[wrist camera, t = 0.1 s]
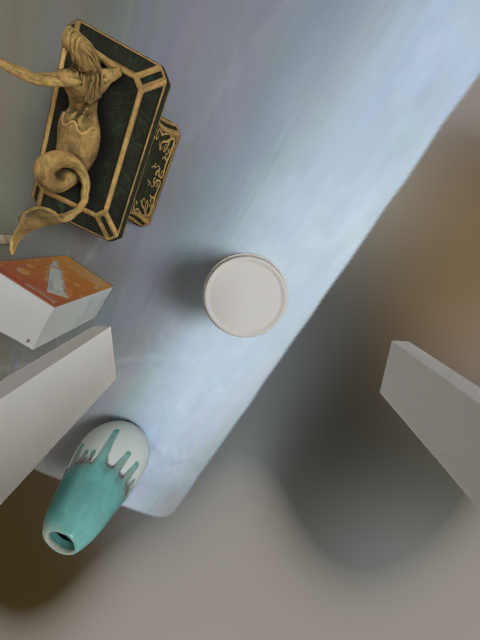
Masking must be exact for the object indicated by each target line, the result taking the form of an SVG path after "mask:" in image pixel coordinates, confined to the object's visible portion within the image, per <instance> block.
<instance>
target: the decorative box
mask: <svg viewBox="0 0 480 640" xmlns="http://www.w3.org/2000/svg"><path fill="white" fill-rule="evenodd" d="M62 45H63V47H62V52H61V56H60V61H59V66H58V71H56V72H47V73H34V72H32V71H30V70H28V69H26V68H23V67H21V66H18V65H15V64H13V63H10V62H8V61H5V60H3V59H1V58H0V67H1V68H2V69H4V70H6V71H7V72H9V73H11V74H12V75H14V76H16V77H18V78H20V79H22V80H24V81H26V82H29V83H31V84H34V85H39V86H49V87H54V90H53V95H52V100H51V105H50V110H49V114H48V119H47V121H46V123H47V124H46V129H45V134H44V139H43V143H42V148H41V153H40V156H39V157H38V158H37V159H36V161H35V164H34V169H33V174H34V177H35V182H34V187H33V192H32V198H33V200H34V202H35V204H36V206H37V207H31V208H29V209H27V210H26V211H24V212H23V213H22V214H21V215H20V216H18V220H19V223H20V224H19V225H18V227H17V229H16V231H15V232H14V234H13V236H12V238H11V240H10V253H11V255H13V254H14V252H15V250H16V247H17V244H18V242H19V241H20V240H21V239H22V238H23V237H24V236H25V235H26V234H28V233H29V232H31V231H32V230H35V229H38V228H41V227H43V226H48V225H58V224H61V223H66V222H69V223H71V224H73V225H75V226H78V227H80V228H82V229H84V230H86V231H88V232H90V233H92V234H95V235H97V236H99V237H101V238H103V239H105V240H107V241H115V240H117V239H120V238H122V236H123V234H124V231H125V227H126V224H127V221H131V222H133V223H135V224H137V225H139V226H141V227H144V226H146V225H149V224H150V222H151V220H152V217H153V214H154V211H155V208H156V205H157V202H158V199H159V196H160V194H161V191H162V188H163V185H164V182H165V179H166V176H167V173H168V171H169V168H170V165H171V162H172V159H173V156H174V153H175V150H176V147H177V145H178V142H179V139H180V132H179V130H178V127H177V125H176V124H175V123H173V122H171V121H169V120H167V119H165V118H164V117H162V116H161V115H162V112H163V109H164V106H165V103H166V99H167V96H168V93H169V90H170V82H169V79H168V77H167V74H166V71H165V69H164V67H163V66H162V65H160V64H158V63H156V62H155V61H153V60H151V59H149V58H148V57H146V56H144V55H142V54H140V53H139V52H137V51H135V50H133V49H131V48H130V47H128V46H126V45H124V44H122V43H121V42H119V41H117V40H115V39H113V38H112V37H110V36H108V35H106V34H105V33H103V32H101V31H99V30H97V29H96V28H94V27H92V26H90V25H88V24H87V23H85V22H83V21H81V20H79V19H77V20H75V21H74V22H72V23H70V24H68V25H67V27H66V29H65V31H64V33H63V35H62ZM26 215H31V216H32V217H26Z"/></svg>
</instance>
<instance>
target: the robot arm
mask: <svg viewBox="0 0 480 640" xmlns="http://www.w3.org/2000/svg"><path fill="white" fill-rule="evenodd" d="M115 379H116V371H115V362H114V353H113V344H112V335H111V326H93V327H91V328H89V329H88V330H86V331H84V332H82V333H81V334H79V335H77V336H76V337H74V338H72V339H71V340H69V341H67V342H65V343H64V344H62V345H60V346H59V347H57V348H55V349H53V350H52V351H50V352H48V353H47V354H45V355H43V356H41V357H40V358H38V359H36V360H35V361H33V362H31V363H30V364H28V365H26V366H24V367H23V368H21V369H19V370H18V371H16V372H14V373H12V374H11V375H9V376H7V377H6V378H4V379H1V380H0V505H1V503H2V502H3V501H4V500H5V499H6V498H7V497H8V496H9V495H10V493H11V492H12V491H13V490H14V489H15V488H16V487H17V486H18V485H19V484H20V483H21V482H22V481H23V479H24V478H25V477H26V476H27V475H28V474H29V473H30V472H31V471H32V470H33V469H34V467H35V466H36V465H37V464H38V463H39V462H40V461H41V460H42V459H43V458H44V457H45V456H46V454H47V453H48V452H49V451H50V450H51V449H52V448H53V447H54V446H55V445H56V444H57V442H58V441H59V440H60V439H61V438H62V437H63V436H64V435H65V434H66V433H67V432H68V430H69V429H70V428H71V427H72V426H73V425H74V424H75V423H76V422H77V421H78V420H79V419H80V417H81V416H82V415H83V414H84V413H85V412H86V411H87V410H88V409H89V408H90V407H91V405H92V404H93V403H94V402H95V401H96V400H97V399H98V398H99V397H100V396H101V395H102V393H103V392H104V391H105V390H106V389H107V388H108V387H109V386H110V385H111V384H112V383H113V382H114V380H115ZM380 393H381V394H382V395H383V397H384V398H385V399H386V400H387V401H388V402H389V404H390V405H391V406H392V407H393V408H394V410H395V411H396V412H397V413H398V414H399V415H400V417H401V418H402V419H403V420H404V421H405V422H406V424H407V425H408V426H409V427H410V428H411V430H412V431H413V432H414V433H415V434H416V435H417V437H418V438H419V439H420V440H421V441H422V442H423V444H424V445H425V446H426V447H427V448H428V450H429V451H430V452H431V453H432V454H433V455H434V457H435V458H436V459H437V460H438V461H439V463H440V464H441V465H442V466H443V467H444V468H445V470H446V471H447V472H448V473H449V474H450V475H451V476H452V478H453V479H454V480H455V481H456V482H457V484H458V485H459V486H460V487H461V488H462V490H463V491H464V492H465V493H466V494H467V495H468V497H469V498H470V499H471V500H472V501H473V503H474V504H475V505H476V506H477V507H478V508H479V510H480V388H479V387H478V386H476V385H475V384H473V383H472V382H470V381H469V380H467V379H465V378H464V377H462V376H461V375H459V374H457V373H456V372H455V371H453V370H452V369H450V368H449V367H447V366H446V365H444V364H442V363H441V362H439V361H438V360H436V359H435V358H433V357H432V356H430V355H429V354H427V353H426V352H424V351H423V350H421V349H419V348H418V347H416V346H415V345H413V344H412V343H410V342H408V341H392V343H391V348H390V352H389V356H388V360H387V365H386V369H385V373H384V378H383V381H382V386H381V390H380Z"/></svg>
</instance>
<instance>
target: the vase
mask: <svg viewBox="0 0 480 640" xmlns="http://www.w3.org/2000/svg"><path fill="white" fill-rule="evenodd" d="M149 455H150V448H149V443H148V440H147V437H146V435H145V434H144V432H143V431H142V430H141V429H140V428H139V427H137V426H136V425H134V424H132V423H130V422H127V421H119V420H117V421H110V422H106V423H103V424H101V425H99V426H97V427H96V428H94V429H93V430H92V431H90V432H89V433H88V434H87V435H86V436H85V437H84V438H83V440H82V441H81V442H80V444H79V445H78V447H77V448H76V450H75V452H74V454H73V455H72V457H71V459H70V461H69V464H68V466H67V468H66V471H65V473H64V475H63V478H62V480H61V483H60V485H59V488H58V490H57V492H56V494H55V496H54V498H53V500H52V502H51V504H50V506H49V509H48V511H47V514H46V516H45V519H44V523H43V532H42V534H43V538H44V540H45V541H46V543H47V544H48V545H49V546H50V547H51V548H52V549H53V550H55V551H56V552H58V553H61V554H64V555H72V554H75V553H77V552H79V551H80V550H81V549H83V548H84V547H86V546H87V545H88V544H89V543H90V542H91V541H92V540H93V539H94V538H95V537H96V536H97V535H98V534H99V533H100V532H101V531H102V529H103V528H104V527H105V525H106V524H107V523H108V521H109V520H110V519H111V517H112V516H113V515H114V513H115V512H116V511H117V509H118V508H119V507H120V506H121V505H122V504H123V502H124V501H125V500H126V499H127V498H128V496H129V495H130V493H131V492H132V491H133V489H134V488H135V486H136V485H137V484H138V482H139V480H140V479H141V477H142V475H143V473H144V471H145V469H146V467H147V465H148V461H149Z"/></svg>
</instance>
